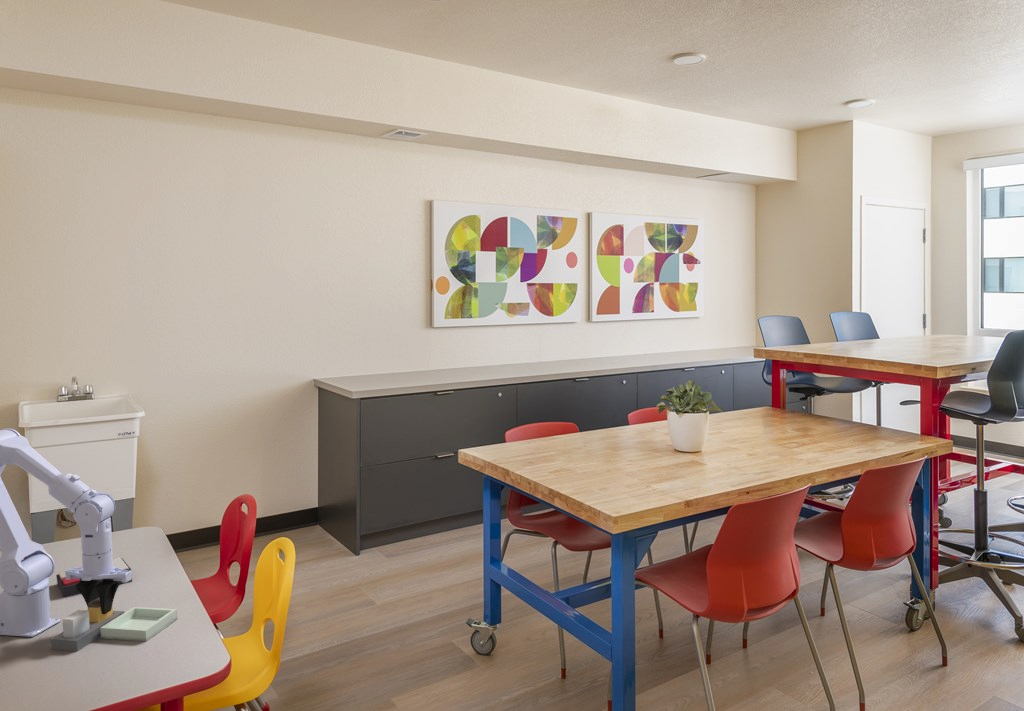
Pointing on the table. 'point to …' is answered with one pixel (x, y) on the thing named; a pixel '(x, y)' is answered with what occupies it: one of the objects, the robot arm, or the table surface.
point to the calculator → (70, 585)
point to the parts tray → (139, 624)
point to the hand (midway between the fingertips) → (100, 611)
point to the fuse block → (82, 636)
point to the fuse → (76, 624)
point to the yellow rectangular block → (97, 611)
